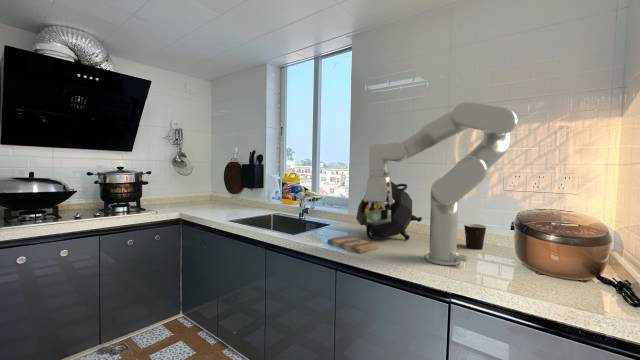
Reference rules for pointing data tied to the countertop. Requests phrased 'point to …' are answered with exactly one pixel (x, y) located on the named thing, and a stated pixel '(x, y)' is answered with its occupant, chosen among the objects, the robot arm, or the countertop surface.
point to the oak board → (353, 244)
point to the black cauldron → (399, 215)
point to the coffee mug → (474, 236)
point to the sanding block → (377, 217)
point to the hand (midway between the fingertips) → (378, 217)
